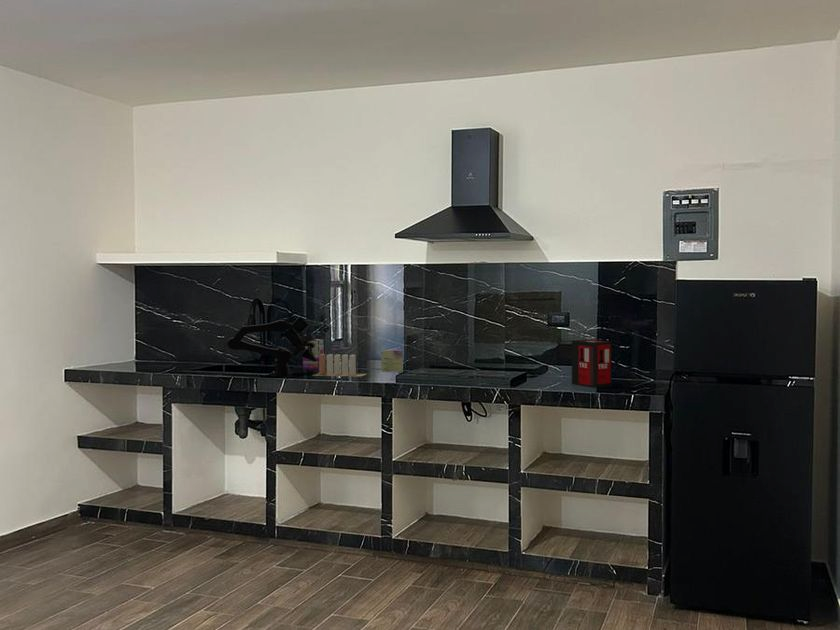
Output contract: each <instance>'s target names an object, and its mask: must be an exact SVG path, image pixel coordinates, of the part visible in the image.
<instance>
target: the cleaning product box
mask: <svg viewBox="0 0 840 630" xmlns="http://www.w3.org/2000/svg"><path fill="white" fill-rule="evenodd" d="M612 344H613V343H612V341H605V340H597V339H596V340H595V339H575V340H574V339H573V340H571V384H572V385H575V386H581V387H587V388H588V387H589V388H594V389H601V388H612V386H613V385H612V384H613V381H612V379H613V377H612V376H613V375H612V372H613V371H612V369H613V367H612V365H613V364H612V363H613V360H612V359H613V358H612V357H613V356H612V355H613V354H612V353H613V345H612Z"/></svg>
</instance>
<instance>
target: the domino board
mask: <svg viewBox="0 0 840 630" xmlns="http://www.w3.org/2000/svg"><path fill="white" fill-rule="evenodd" d="M366 375H367V373H356V375H353V376H352V377H358V378H359V377H360V378H361V377H364V376H366ZM311 376H312V377H313V376H314V377H351V376H350V373H348V375H345V376H344V375H342V373H341V374H340V375H334V372H333V374H332V375H327V372H326V374H324V375H319V372H318V373H316V374H312V375H311Z"/></svg>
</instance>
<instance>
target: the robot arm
mask: <svg viewBox="0 0 840 630" xmlns="http://www.w3.org/2000/svg"><path fill="white" fill-rule="evenodd" d="M309 326H310V324H309V323H308V322H307V321H306V320H304V319H303V318H302V317H301V316H298V317H297V318H296V320H295V321H293V322H287V321H285V320H284V319H278V320H274V321H272V322H269V323H263V324H262V323H261V324H253V325H243V326H241V327H240V329H239V330H238V331H237V332H236V334H235V335H234V336H233V337H231V338H230V337H229V339H228V341H227V347H228V348H229V349H230V350H234V351H248V352H253V353H257V354H261V355H265V356H270V357H273V358H275V362H276V363H275V364H274V375H273V377H275V378H276V377H277V378H279V377H280V378H281V377H284V378H285V377H288V376H290V373H291V372H290V366H289V363H288V362H289V361H290V360H291V358H292V354H293V356H294V357H295V358H296V357H298V356H299V354H300V353H301V355H300V357H302V358H303V357H304V358H306V359H309V360H311V361H314V362H316V361H317V360H316V358H315V356H314V354H313V352H312V349H313V348H314V347H315V346H316V345H315V344H314V343H309V342H310V341H312V340H315V339H316V335H315V334H314V333H312V332H310V333H307V334H306V335H305V336H303V335H302V336H300V335H299V333H301V334H303V332H304V331H305V330H307V328H308V327H309ZM288 329H289V330H288ZM263 332H264V333H265V332H278V333H279V332H280V339H281V340H284V339H286V340H287V341H288V342H289V344H291V345H290V347H294V351H293V352H291V350H289V349H287V347H281V346H278V347H277V348H271V347H267V346H263V345H259V344H255V343H251V342H247V341H244V340H242V339H244V337H245V336H246V335H247V334H253V333H263ZM282 332H283V333H282Z"/></svg>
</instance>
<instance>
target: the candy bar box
mask: <svg viewBox="0 0 840 630" xmlns="http://www.w3.org/2000/svg"><path fill="white" fill-rule="evenodd" d="M324 341H325V339H322V338H321V339H319V338H315V340H312V341H310V342H309V343H314V344H315V345H316V346H315V347H314V348H313V349H312V352H313V354H314V356H315V358H316V360H317V361H316V362H314V361H311V360H309V359H306V358H304V357H302V370H305V369H306V370H314V371H315V370H316V371H317V370H319V355H321V354H325V353H324V352H325V349H324V348H325V347H324Z"/></svg>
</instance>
